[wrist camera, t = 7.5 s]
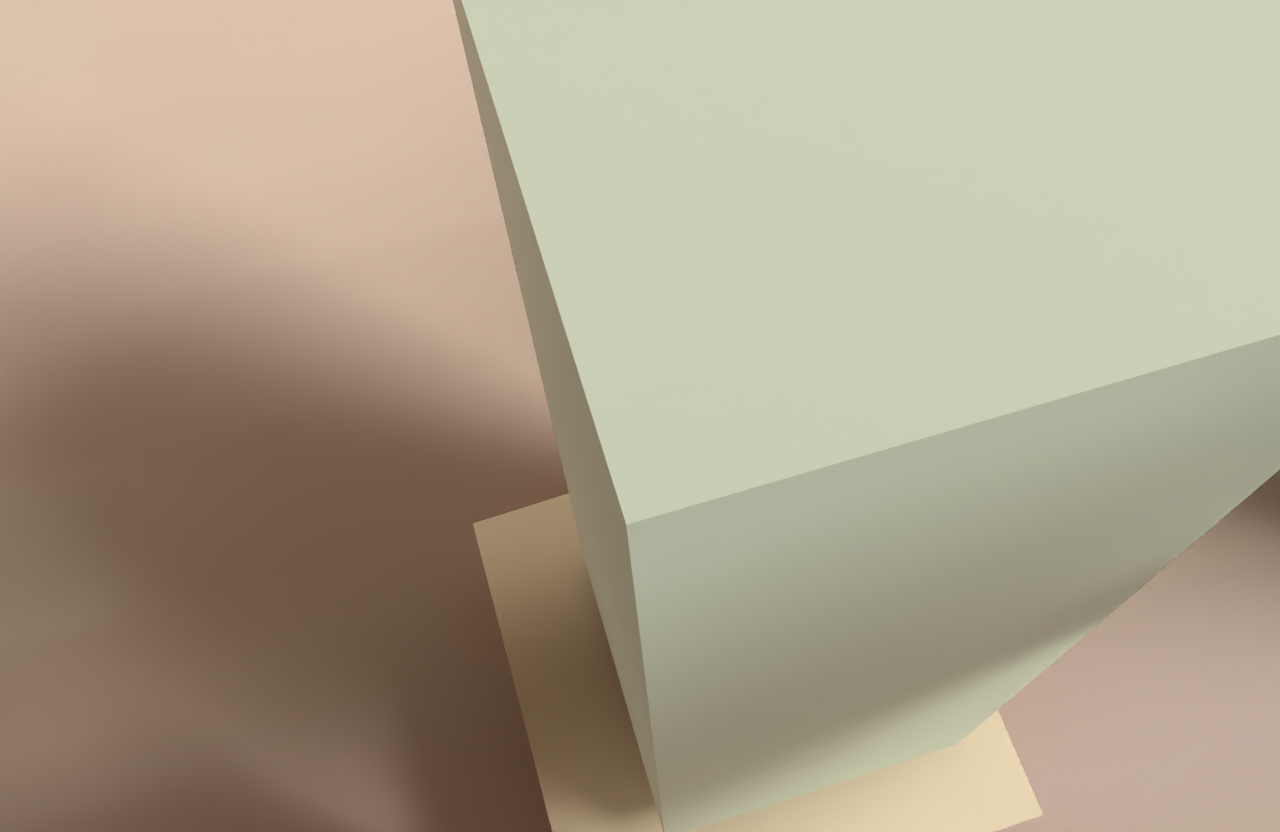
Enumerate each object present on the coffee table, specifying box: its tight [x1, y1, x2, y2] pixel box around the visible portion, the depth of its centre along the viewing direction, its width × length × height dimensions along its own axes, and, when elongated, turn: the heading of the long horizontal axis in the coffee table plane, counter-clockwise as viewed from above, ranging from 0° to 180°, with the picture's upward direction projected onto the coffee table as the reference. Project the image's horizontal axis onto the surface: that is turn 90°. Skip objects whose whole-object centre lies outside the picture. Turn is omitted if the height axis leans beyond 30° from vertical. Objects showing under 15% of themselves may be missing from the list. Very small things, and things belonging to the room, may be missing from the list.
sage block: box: [453, 0, 1280, 832], centre depth 11 cm, size 4×4×12 cm
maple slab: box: [473, 493, 1043, 832], centre depth 18 cm, size 7×7×3 cm
